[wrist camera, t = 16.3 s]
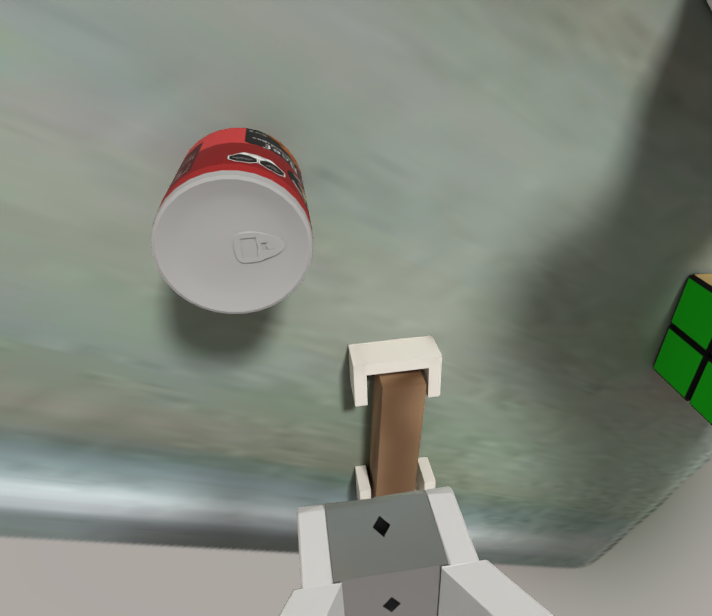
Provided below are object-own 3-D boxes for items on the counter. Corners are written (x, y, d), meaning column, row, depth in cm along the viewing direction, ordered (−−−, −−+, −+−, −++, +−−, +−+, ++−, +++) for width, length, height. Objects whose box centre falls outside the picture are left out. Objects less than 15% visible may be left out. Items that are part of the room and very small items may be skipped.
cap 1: (431, 335, 44) (442, 356, 42) (430, 373, 47) (439, 396, 44) (348, 344, 44) (353, 366, 41) (350, 383, 46) (355, 406, 43)
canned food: (318, 213, 38) (334, 286, 28) (212, 252, 38) (194, 336, 29) (276, 105, 34) (280, 148, 24) (159, 149, 34) (118, 208, 25)
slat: (414, 356, 46) (426, 385, 42) (403, 472, 53) (412, 506, 49) (374, 358, 45) (382, 388, 42) (368, 476, 52) (375, 509, 49)
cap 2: (356, 495, 53) (361, 520, 50) (355, 466, 51) (359, 491, 48) (426, 485, 54) (433, 510, 51) (427, 456, 52) (435, 480, 49)
